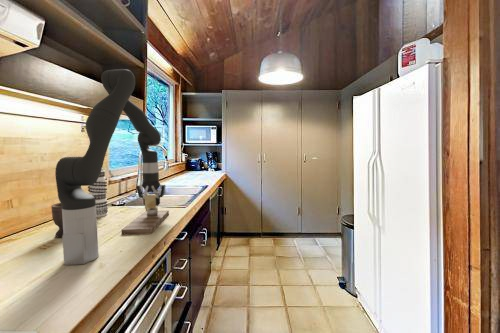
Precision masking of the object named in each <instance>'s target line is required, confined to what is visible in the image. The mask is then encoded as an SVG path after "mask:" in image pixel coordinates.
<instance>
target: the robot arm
mask: <svg viewBox="0 0 500 333" xmlns="http://www.w3.org/2000/svg"><path fill="white" fill-rule="evenodd" d="M100 79H101V83H102V86H103V88H104V90H105V91H106V92H107V94H108V95H107V96H105V97H104V98H102V100H100V101H99V102H98V103H96V104H95V105H94V107H93V108H92V109H91V111H90V113H89V114H88V117H87V119H86V121H85V130H86V134H87V137H88V139H89V145H88V148H87V151H86V152H85V154H84V155H83V156H64V157H61V158H60V159H59V160H58V161H57V163H56V166H55V184H56V189H57V190H56V191H57V197H58V201H59V203H61V205H62V218H63V234H64V235H63V236H62V238H61V240H62V251H63V265H64V266H71V265H85V264H87V263H89V262H92V261H94V260H96V259H97V258H98V257H99V256H100V254H99V240H98V239H99V238H98V220H97V218H98V217H96V200H95V197H94V196H92V195H90V194H89V192H88V193H87V192H86V191H85V190H83V188H82V187H84V186H85V187H88V186H89V185H92V184H94V183H95V182H96V181H97V179H98V178H99V175H100V173H101V169H102V168H103V166H104V160H105V158H106V154H107V151H108V147H109V145H110V142H111V140H112V138H113V136H114V135H113V134H114V132H115V130H116V128H117V125H118V123H119V120H120V117H121V115H122V113H124V114H125V115H126V116H127V118H128V120H129V121H130V123H131V125H132V126H133V128H134V130H135V131H136V132H138V134H137V143H138V146H139V148H140V152H141V154H142V156H141V158H142V165H141V171H142V184H140V185H139V184H138V185H136V190H137V193H138V194H137V195H138V197H139V198H142V204H143V206H145V198H144V197H145V196H146V195H149V193H154V194H155V195H156V198H157V199H156V204H157V206H158V205H159V206H160V204H161V198H162V197H164V195H165V191H166V184H161V183H160V174H159V172H160V169H159V161H158V152H157V151H156V150H153V149H151V148H150V146H158V145H159V144H160V143H161V141H162V138H161V134H160V132H159V131H158V130H157V128H155V127H154V126H153V125H152V123H150V121H149V119H148V117H147V115H146V113H145V112H144V111H143V110H142V109H141V108H140V107H139V106H138V105H137V104H135V103H134V102H132V101H131V100H130V97H131V96H132V94H133V92H134V90H135V86H136V77H135V75H134V73H133V72H132V71H131V70H130V69H126V68H125V69H124V68H120V69H119V68H117V69H110V70H109V69H108V70H105V71H103V72H102V73H101V78H100ZM159 188H160V192H159ZM142 189H144V192H143V190H142ZM159 206H158V207H159Z"/></svg>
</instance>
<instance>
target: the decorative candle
mask: <svg viewBox="0 0 500 333" xmlns="http://www.w3.org/2000/svg"><path fill="white" fill-rule="evenodd" d="M105 172H106V170H105V169H104V168H103V167H102V169H101V173H100V175H99V178H98V179H97V181H96V182H95V183H94V184H92V185H89V186H87V189H88V190H87V191H88V194H90V195H92V196H94V197H95V200H96V218H100V217H101V218H102V217H105V216H108V215H109V211H108V209H109V208H108V204H107V203H108V200H107V194H108V193H107V190H108V189H107V187H108V185H107V183H108V182H107V181H106V180H108V178H106V173H105Z"/></svg>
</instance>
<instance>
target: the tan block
mask: <svg viewBox="0 0 500 333" xmlns="http://www.w3.org/2000/svg"><path fill="white" fill-rule="evenodd" d="M144 198H145V205H144V209H145V211H148V210H150V209H151V208H157V207H159V206H160V204H159V205H158V206H157V204H156V199H157V198H156V195H155V194H148V195H146V196H145V197H144Z"/></svg>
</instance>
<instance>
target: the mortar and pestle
mask: <svg viewBox="0 0 500 333" xmlns="http://www.w3.org/2000/svg"><path fill="white" fill-rule="evenodd" d="M50 207H51V208H50V209H51V216H52V221H53V223H54V225H55V226H56V227H58V230H57V231H56V233H55V235H54V236H55V238H57V239H58V238H60V239H62V236H63V235H64V234H63V218H62V205H61V202H59V203H53V204H51V206H50Z"/></svg>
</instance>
